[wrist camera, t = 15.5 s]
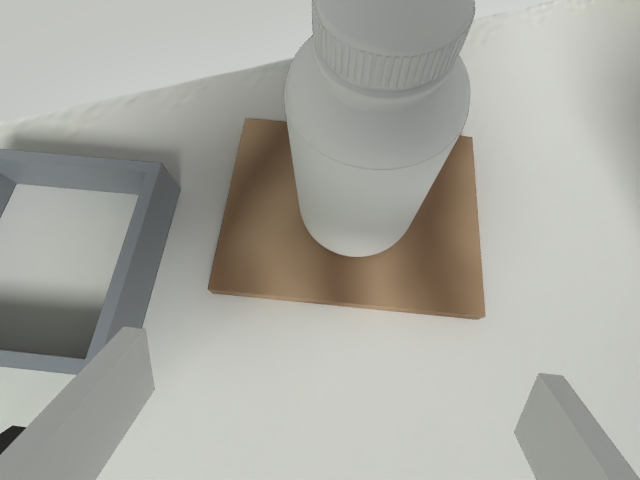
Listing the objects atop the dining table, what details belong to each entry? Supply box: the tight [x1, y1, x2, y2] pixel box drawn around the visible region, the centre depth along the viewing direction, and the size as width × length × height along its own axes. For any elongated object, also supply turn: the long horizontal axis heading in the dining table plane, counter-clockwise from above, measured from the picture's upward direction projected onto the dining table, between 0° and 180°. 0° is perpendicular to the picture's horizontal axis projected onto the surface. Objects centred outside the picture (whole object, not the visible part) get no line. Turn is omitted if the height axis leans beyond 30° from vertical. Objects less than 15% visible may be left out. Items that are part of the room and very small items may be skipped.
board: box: [208, 118, 485, 319], centre depth 26 cm, size 18×14×1 cm
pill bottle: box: [284, 0, 475, 257], centre depth 18 cm, size 8×8×15 cm
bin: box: [0, 149, 180, 375], centre depth 23 cm, size 14×14×4 cm
